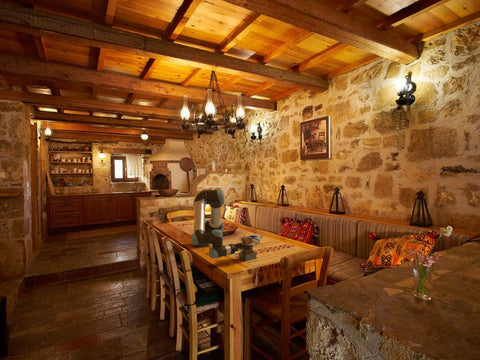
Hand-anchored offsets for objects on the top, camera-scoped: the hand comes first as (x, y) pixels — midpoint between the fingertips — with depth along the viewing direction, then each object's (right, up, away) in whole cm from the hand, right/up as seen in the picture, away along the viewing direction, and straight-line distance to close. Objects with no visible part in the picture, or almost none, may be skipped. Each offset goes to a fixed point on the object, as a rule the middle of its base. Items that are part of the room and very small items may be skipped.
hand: (252, 244), depth 207 cm
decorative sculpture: (+4, -9, +52) cm, 53 cm away
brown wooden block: (-4, -8, -3) cm, 10 cm away
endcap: (-4, -10, -3) cm, 12 cm away
